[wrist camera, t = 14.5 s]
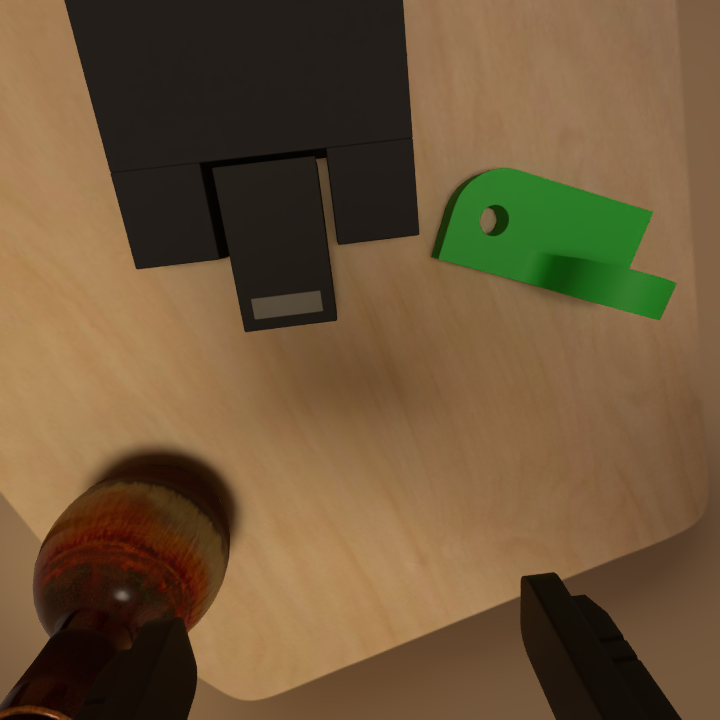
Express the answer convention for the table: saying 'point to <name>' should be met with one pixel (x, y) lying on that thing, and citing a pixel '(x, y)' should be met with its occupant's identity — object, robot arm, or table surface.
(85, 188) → the table surface
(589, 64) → the table surface
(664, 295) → the mechanical part
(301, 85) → the base pad
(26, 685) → the vase
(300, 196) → the black box
